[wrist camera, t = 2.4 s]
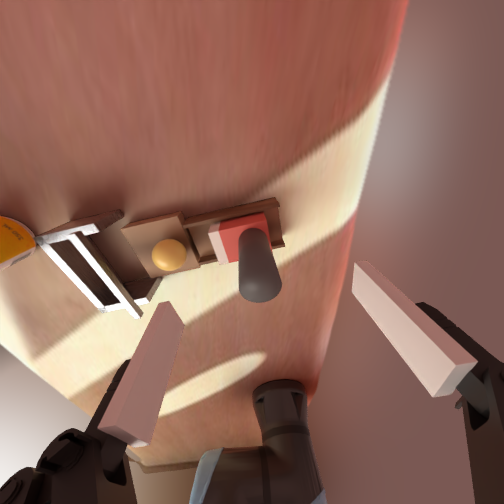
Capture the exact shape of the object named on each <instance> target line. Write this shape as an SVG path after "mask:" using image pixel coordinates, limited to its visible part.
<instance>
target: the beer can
mask: <svg viewBox="0 0 504 504" xmlns="http://www.w3.org/2000/svg"><path fill="white" fill-rule="evenodd" d="M34 237H35V235H34V234H33V232H32V231H31V230H30V229H29V228H28V227H27V226H25V225H24V224H22V223H21V222H19V221H17V220H14V219H12V218H8V217H2V216H0V271H2V270H4V269H5V268H7V267H9V266H11V265H13V264H15V263H17V262H19V261H21V260H23V259H25V258H26V257H28V256H30V255H32V254H33V253H34V252H35V249H36V244H37V242H36V241H35V240H34V239H33V238H34Z"/></svg>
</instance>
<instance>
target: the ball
mask: <svg viewBox="0 0 504 504" xmlns="http://www.w3.org/2000/svg"><path fill="white" fill-rule="evenodd" d="M186 258H187V252H186V249H185V247H184V246H183V244H181V243H180V242H179V241H177V240H174V239H165V240H162V241H160V242H158V243H157V244H156V245H155V247H154V248H153V251H152V260H153V262H154V264H155V265H156V266H157V267H158V268H160V269H162V270H165V271H173V270H176V269H178V268H180V267H181V266H182V265H183V264H184V263H185V261H186Z"/></svg>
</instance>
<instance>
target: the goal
mask: <svg viewBox="0 0 504 504" xmlns="http://www.w3.org/2000/svg"><path fill="white" fill-rule="evenodd" d="M123 217H124V216H123V214H122V212H121V211H120V210H116V211H111V212H107V213H103V214H99V215H95V216H90V217H86V218H82V219H78V220H74V221H69V222H67V223H65V224H63V225H60V226H58V227H56V228H54V229H51V230H49V231H47V232H45V233H43V234H40V235H38V236H36V237H34V238H33V239H34V240H35V241H36V242H37V243H38V244H39V246H40V247H41V248H42V249H43V250H44V251H45V252H46V253H47V254H48V255H49V256H50V257H51V258H52V260H53V261H54V262H55V263H56V264H57V265H58V266H59V267H60V268H61V269H62V270H63V271H64V272H65V274H66V275H67V276H68V277H69V278H70V279H71V280H72V281H73V282H74V283H75V284H76V285H77V286H78V288H79V289H80V290H81V291H82V292H83V293H84V294H85V295H86V296H87V297H88V298H89V299H90V300H91V302H92V303H93V304H94V305H95V306H96V307H97V308H98V309H99V310H100V311H101V312H102V313H104V312H108V311H113V310H118V309H122V308H126V309H127V311H128V312H129V313H130V314H131V315H132V317H133V318H134V319H139V318H141V317H142V315H143V312H142V310H141V309H140V308H139V307H138V305H141V304H146V303H149V302H150V301H151V299H152V297H153V295H154V294H155V292H156V290H157V288H158V286H159V285H160V283H161V281H162V279H161V277H160V276H159V277H155V278H151V277H149V278H145V279H140V280H135V281H131V282H126V283H123V281H122V280H121V279H120V277H119V276H118V274H117V273H116V272H115V270H114V269H113V268H112V266H111V265H110V264H109V262H108V261H107V260H106V258H105V257H104V256H103V254H102V253H101V252H100V250H99V249H98V248H97V246H96V245H95V244H94V242H93V241H92V240H91V238H90V237H89V236H88V235H89V234H93V233H97V232H100V231H102V230H103V229H105V228H107V227H108V226H110V225H112V224H113V223H115V222H116V221H118V220H120V219H121V218H123Z"/></svg>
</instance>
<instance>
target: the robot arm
mask: <svg viewBox="0 0 504 504" xmlns="http://www.w3.org/2000/svg"><path fill="white" fill-rule="evenodd" d="M352 293H353V294H354V295H355V297H356V298H357V299H358V301H359V302H360V303H361V305H362V306H363V307H364V308H365V310H366V311H367V312H368V314H369V315H370V316H371V318H372V319H373V320H374V321H375V323H376V324H377V325H378V327H379V328H380V329H381V330H382V332H383V333H384V334H385V336H386V337H387V338H388V340H389V341H390V342H391V344H392V345H393V346H394V347H395V349H396V350H397V351H398V353H399V354H400V355H401V357H402V358H403V359H404V361H405V362H406V363H407V364H408V366H409V367H410V368H411V369H412V371H413V372H414V374H415V375H416V376H417V377H418V379H419V380H420V381H421V383H422V384H423V385H424V387H425V388H426V389H427V390H428V392H429V393H430V394H431V395H432V397H438V396H444V395H450V394H451V393H452V392H453V391H454V390H455V389H457V390H458V391H459V392H460V393H461V394H462V395H463V396H462V397H461V398H460V399H459V400H458V401H457V402H456V405H455V408H457V409H460V408H461V407H463V414H464V422H465V429H466V437H467V444H468V451H469V459H470V467H471V474H472V482H473V489H474V496H475V504H504V363H502V362H500V361H499V360H497V359H496V358H495V357H494V356H492V355H491V354H490V353H489V352H487V351H486V350H485V349H484V348H483V347H482V346H480V345H479V344H478V343H477V342H475V341H474V340H473V339H472V338H471V337H470V336H468V335H467V334H466V333H465V332H464V331H462V330H461V329H460V328H459V327H456V325H455V324H454V323H453V322H451V321H450V320H448V319H447V317H446V316H444V315H443V314H442V313H441V312H440V311H438V310H437V309H435V308H434V307H432V306H430V305H428V304H426V303H424V302H421V303H416V304H414V303H413V302H412V301H411V300H409V298H408V297H406V296H405V295H404V294H403V293H402V292H401V291H400V290H399V289H398V288H396V287H395V286H394V285H393V284H392V283H391V282H390V281H389V280H388V279H387V278H385V277H384V276H383V275H382V274H381V273H380V272H379V271H378V270H377V269H376V268H374V267H373V266H372V265H371V264H370V263H369V262H368V261H367V260H364V261H359V262H355V265H354V275H353V285H352ZM184 326H185V325H184V324H183V322H182V320H181V319H180V317H179V316H178V314H177V313H176V311H175V309H174V308H173V306H172V305H171V303H170V302H169V301H167V302H162V303H159V304H158V306H157V308H156V310H155V312H154V314H153V316H152V318H151V320H150V322H149V324H148V326H147V328H146V330H145V332H144V334H143V336H142V338H141V340H140V342H139V345H138V347H137V349H136V351H135V353H134V355H133V357H132V359H129V360H126V361H125V362H124V363H123V364H122V365H121V367H120V368H119V369H118V370H117V372H116V374H115V376H114V378H113V380H112V383H111V384H110V385H109V387H108V389H107V393H105V395H104V397H103V399H102V401H101V402H100V404H99V406H98V408H97V410H96V412H95V414H94V416H93V418H92V419H91V421H90V423H89V425H88V427H87V429H86V431H85V432H82V431H79V430H77V429H74V428H71V429H68V430H66V431H64V432H63V433H61V434H60V435H58V436H57V437H56V438H55V439H54V440H53V441H52V442H51V443H50V444H49V446H48V447H47V448H46V450H45V451H44V452H43V454H42V455H41V457H40V459H39V461H38V463H37V466H36V468H32V467H26V468H24V469H21V470H19V471H18V472H17V473H16V474H14V475H13V476H12V477H10V478H9V480H8V481H7V482H6V483H5V484H4V485H3V486H2V487H1V488H0V504H137V499H136V494H135V490H134V485H133V480H132V475H131V470H130V466H129V461H128V456H127V454H126V452H125V450H126V447H127V444H128V445H130V446H132V447H134V448H135V447H141V446H147V445H150V442H151V439H152V435H153V432H154V428H155V425H156V422H157V418H158V415H159V411H160V408H161V404H162V401H163V398H164V394H165V391H166V387H167V384H168V380H169V377H170V374H171V370H172V367H173V363H174V360H175V356H176V353H177V350H178V346H179V343H180V339H181V336H182V332H183V329H184ZM252 399H253V407H254V410H255V413H256V417H257V420H258V423H259V426H260V429H261V433H262V443H263V446H254V447H238V448H224V447H222V448H221V449H214V450H208V451H206V452H205V453H204V454H203V456H202V457H201V459H200V462H199V465H198V468H197V472H196V476H195V480H194V484H193V488H192V493H191V498H190V502H189V504H327V501H326V497H325V489H324V487H323V484H322V479H321V476H320V472H319V468H318V464H317V460H316V456H315V453H314V449H313V445H312V441H311V437H310V433H309V429H308V423H307V395H306V391H305V388H304V386H303V385H302V384H301V383H299V382H296V381H292V380H277V381H272V382H268V383H266V384H263V385H261V386H259V387H258V388H257V389H256V390H255V391H254V392H253V394H252Z"/></svg>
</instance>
